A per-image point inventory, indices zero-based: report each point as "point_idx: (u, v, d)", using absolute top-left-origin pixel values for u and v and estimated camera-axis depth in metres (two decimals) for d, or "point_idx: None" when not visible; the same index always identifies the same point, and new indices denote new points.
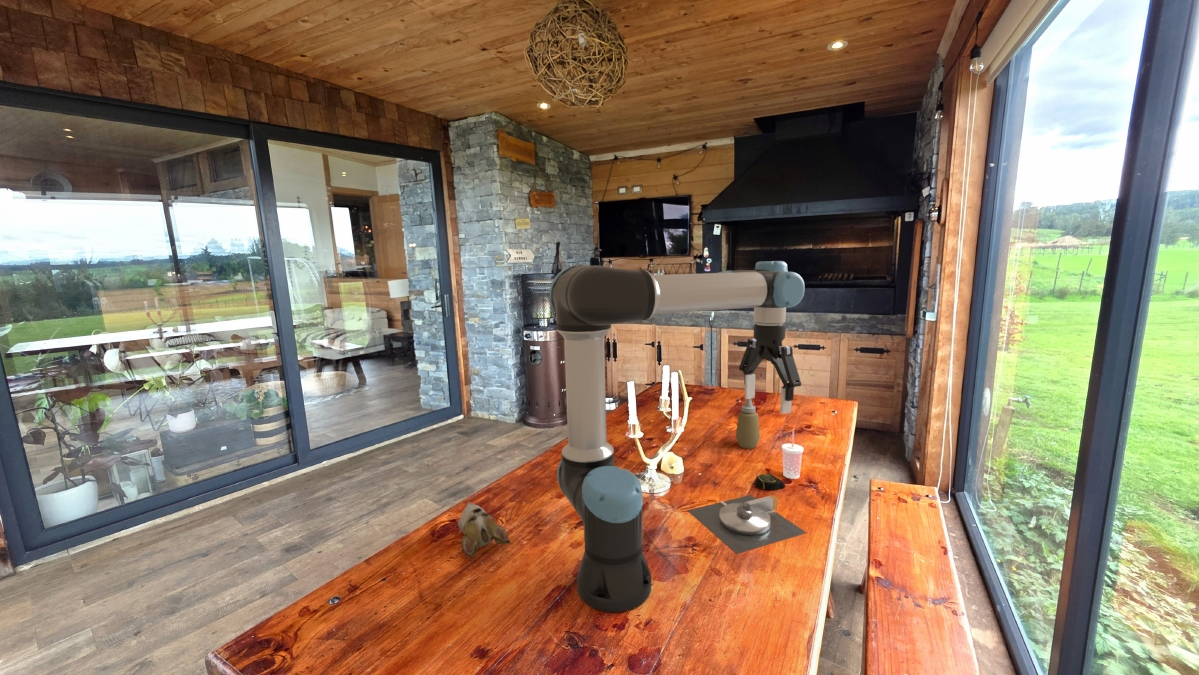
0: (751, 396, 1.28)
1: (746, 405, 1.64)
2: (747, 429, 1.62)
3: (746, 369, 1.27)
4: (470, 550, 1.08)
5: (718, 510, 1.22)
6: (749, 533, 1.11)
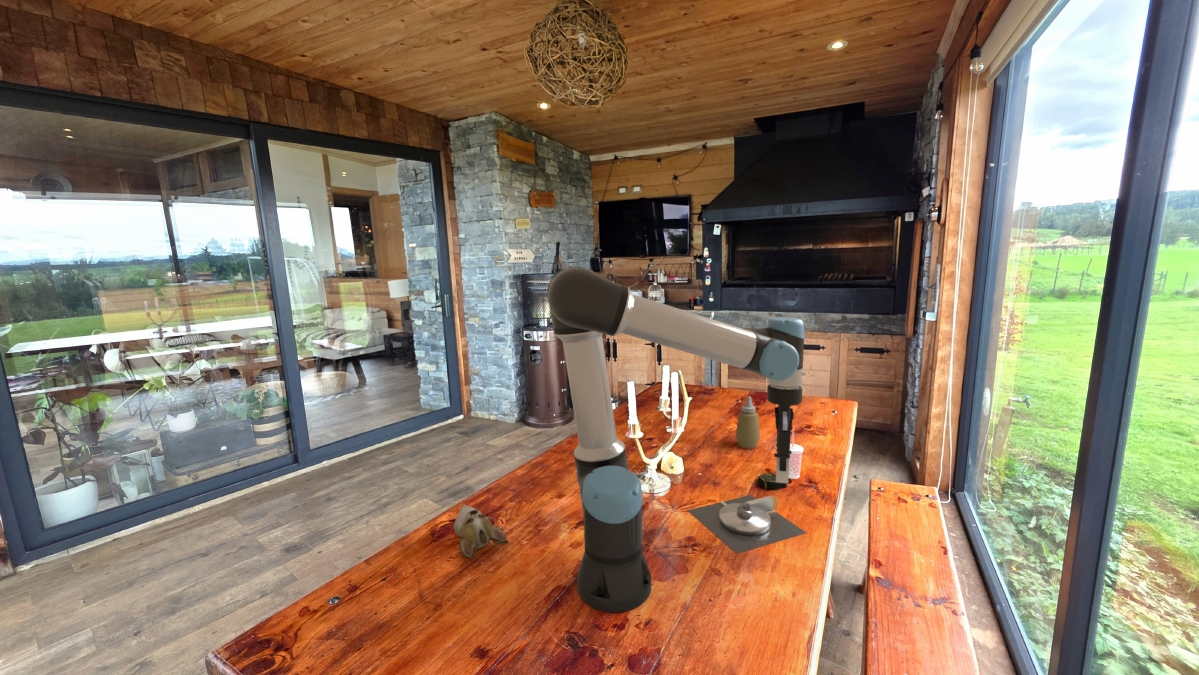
0: None
1: (746, 405, 1.64)
2: (747, 429, 1.62)
3: (777, 445, 1.13)
4: (469, 552, 1.07)
5: (718, 510, 1.22)
6: (749, 533, 1.11)
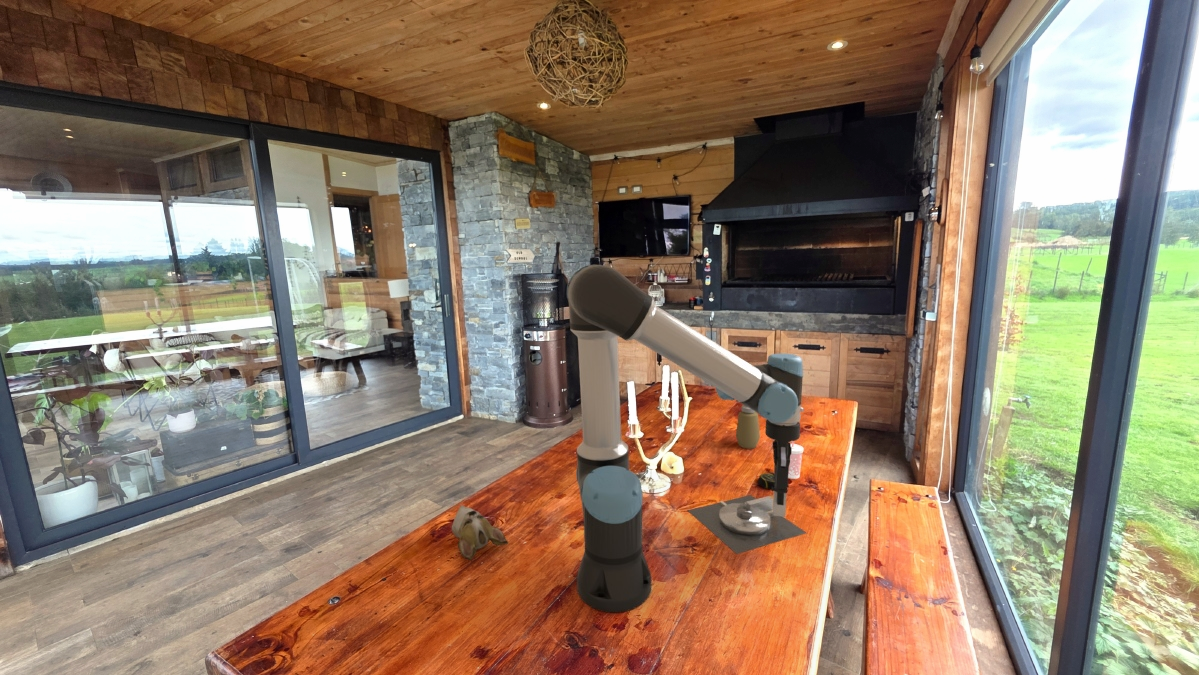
0: None
1: None
2: (747, 429, 1.62)
3: None
4: (468, 552, 1.07)
5: (718, 510, 1.22)
6: (749, 533, 1.11)
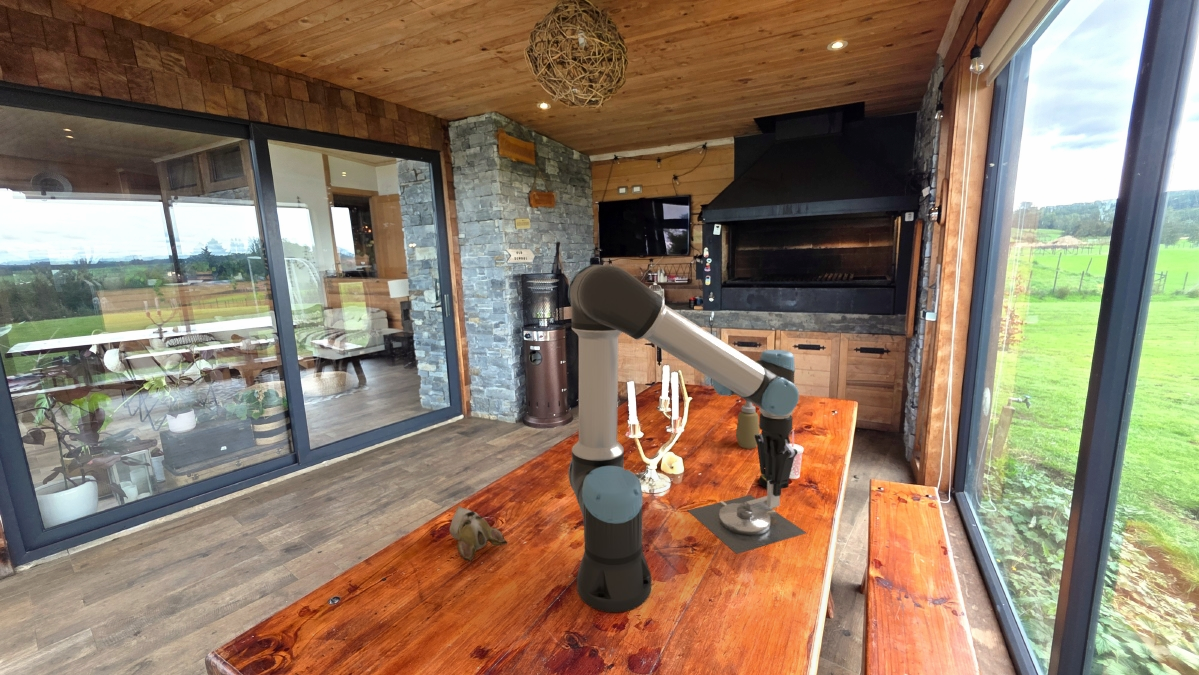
0: None
1: (746, 405, 1.64)
2: (747, 429, 1.62)
3: (766, 472, 1.17)
4: (468, 553, 1.06)
5: (718, 510, 1.22)
6: (749, 533, 1.11)
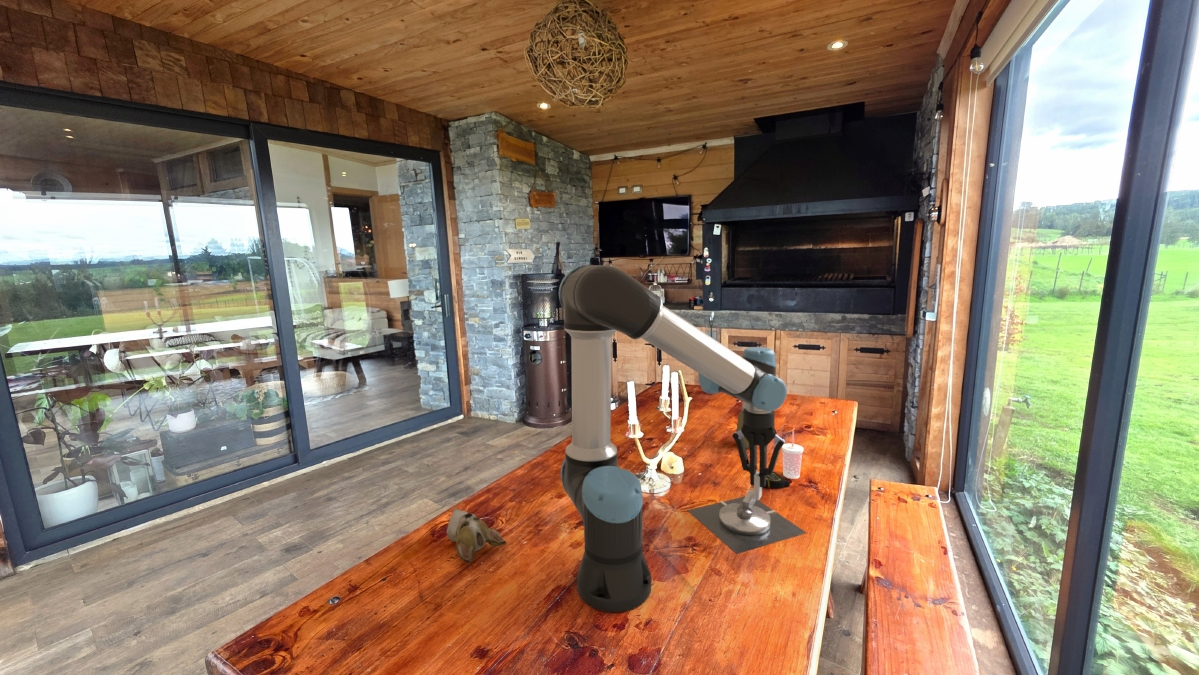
0: None
1: None
2: None
3: (752, 467, 1.20)
4: (467, 555, 1.06)
5: (718, 510, 1.22)
6: (764, 530, 1.12)
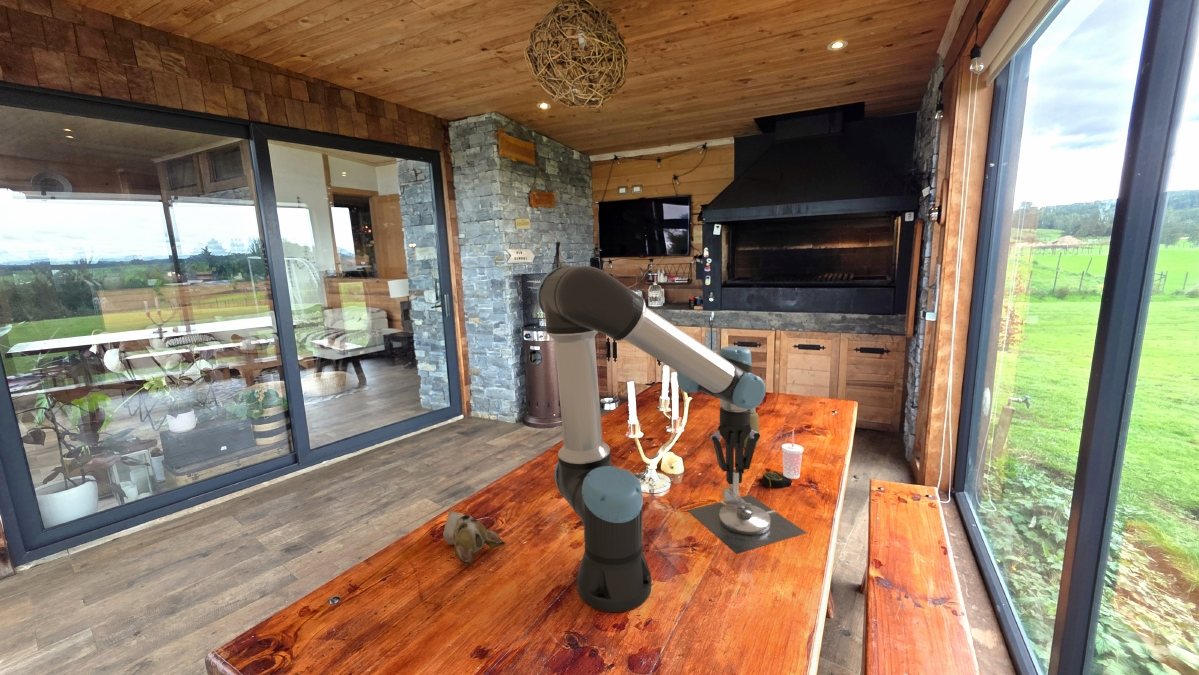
0: None
1: None
2: None
3: (731, 466, 1.21)
4: (466, 557, 1.05)
5: (718, 510, 1.22)
6: None
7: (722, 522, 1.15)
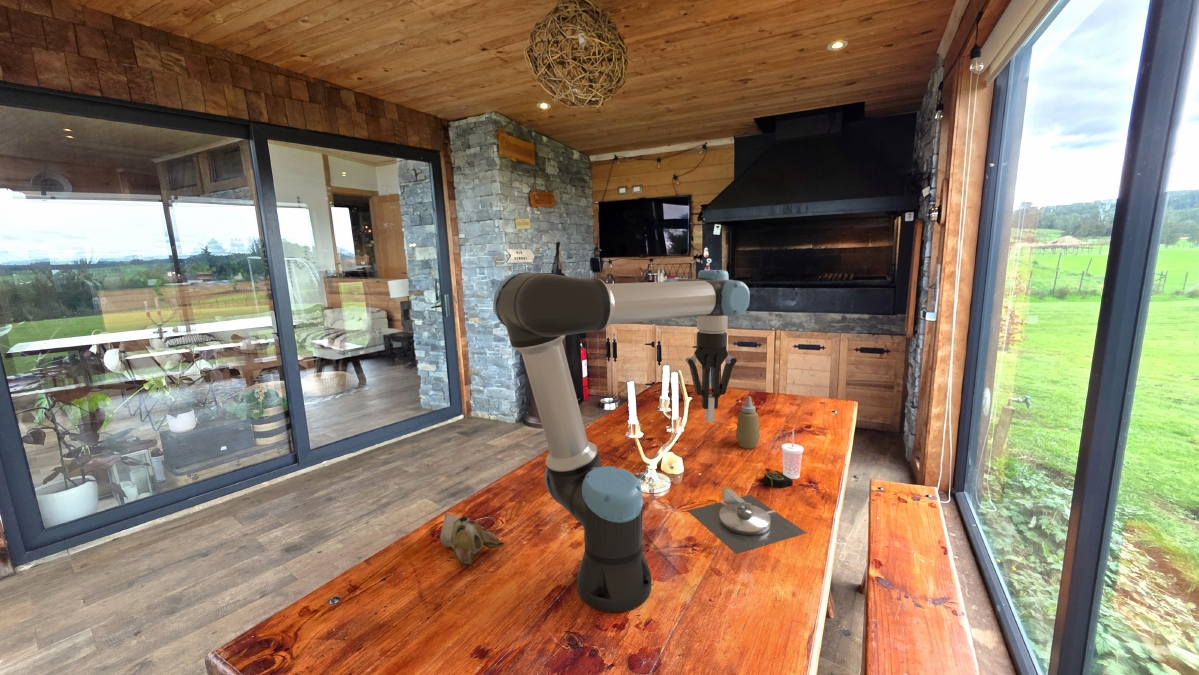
0: None
1: (746, 405, 1.64)
2: (747, 429, 1.62)
3: (706, 390, 1.21)
4: (465, 559, 1.04)
5: (718, 510, 1.22)
6: None
7: (722, 522, 1.15)
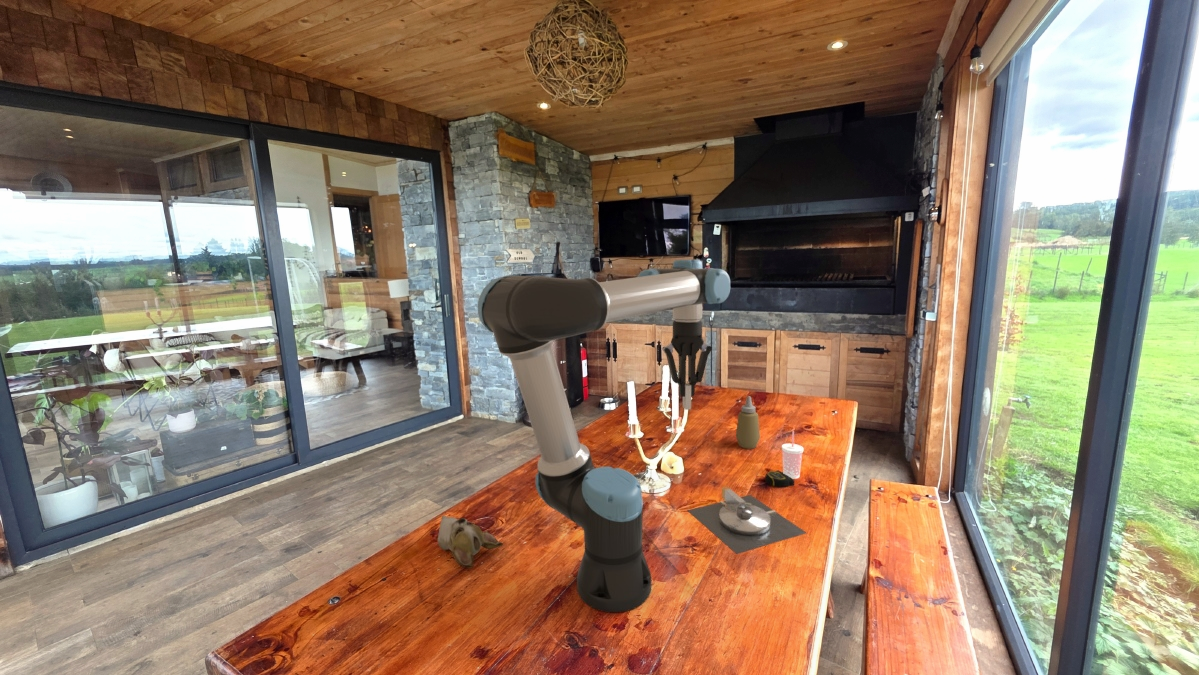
0: None
1: (746, 405, 1.64)
2: (747, 429, 1.62)
3: (683, 378, 1.23)
4: (465, 561, 1.04)
5: (718, 510, 1.22)
6: None
7: (722, 522, 1.15)
